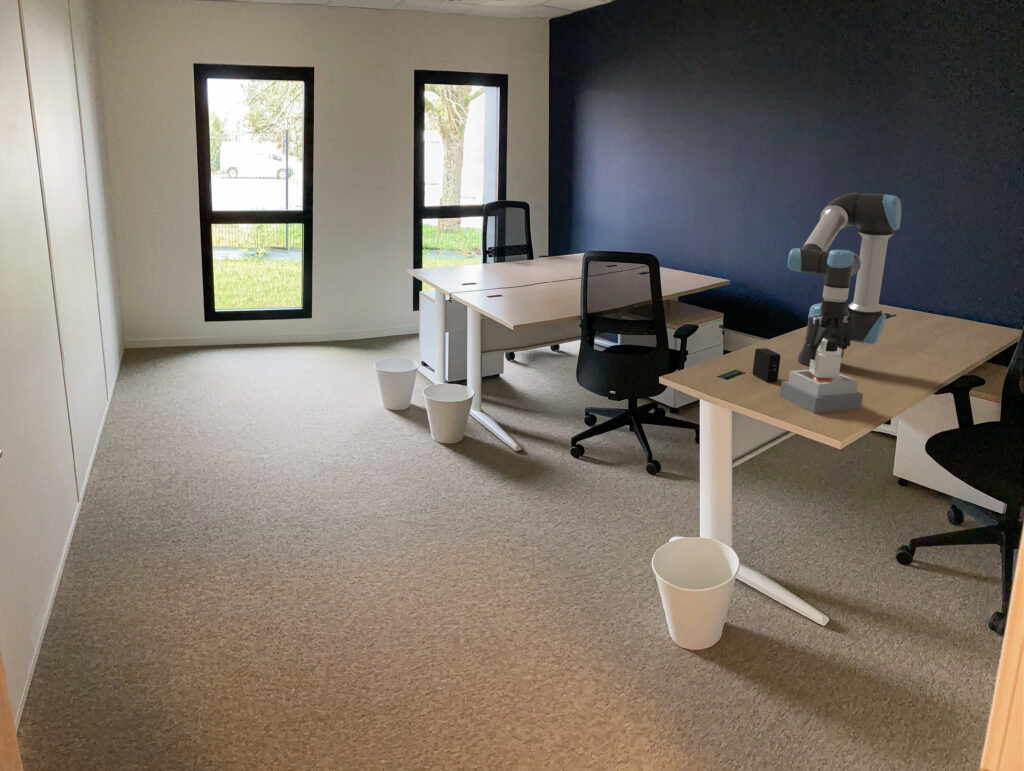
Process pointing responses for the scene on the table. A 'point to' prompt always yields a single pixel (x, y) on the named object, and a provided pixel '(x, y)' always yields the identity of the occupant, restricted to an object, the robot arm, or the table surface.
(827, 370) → the medicine bottle
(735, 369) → the table surface
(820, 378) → the button
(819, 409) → the grey open box
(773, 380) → the electronic device
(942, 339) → the table surface
